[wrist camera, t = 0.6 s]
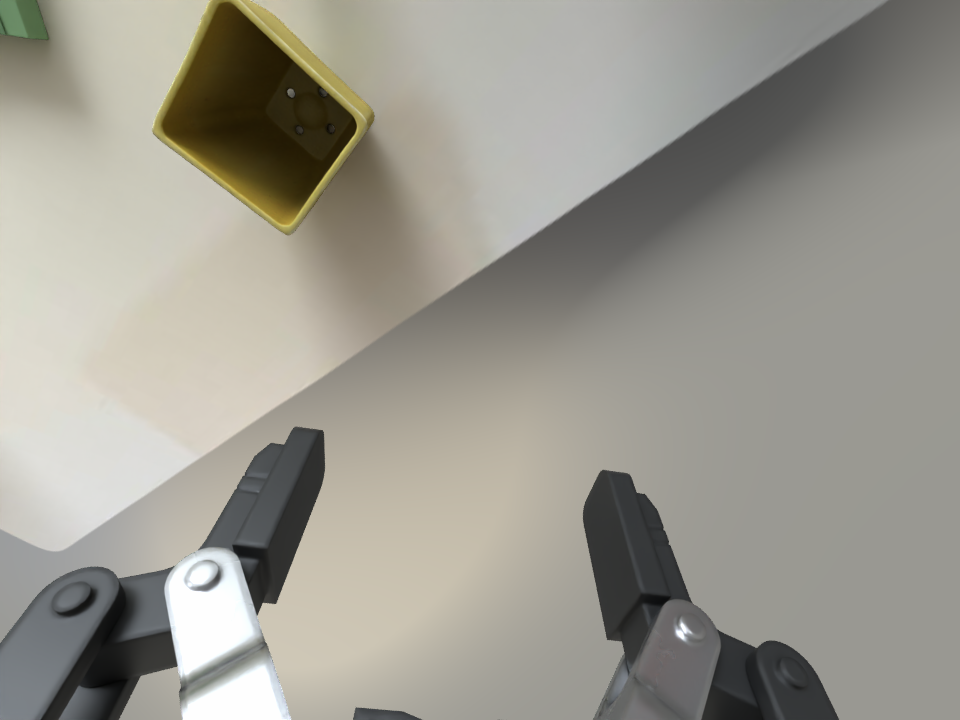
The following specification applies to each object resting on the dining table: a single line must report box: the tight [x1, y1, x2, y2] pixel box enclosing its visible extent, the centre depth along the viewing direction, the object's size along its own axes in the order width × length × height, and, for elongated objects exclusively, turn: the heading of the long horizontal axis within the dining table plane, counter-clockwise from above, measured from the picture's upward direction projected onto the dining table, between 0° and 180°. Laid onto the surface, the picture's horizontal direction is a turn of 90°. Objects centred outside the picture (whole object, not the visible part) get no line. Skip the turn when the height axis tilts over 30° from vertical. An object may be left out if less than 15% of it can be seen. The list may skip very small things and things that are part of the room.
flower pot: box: [152, 0, 374, 235], centre depth 28 cm, size 9×9×9 cm
